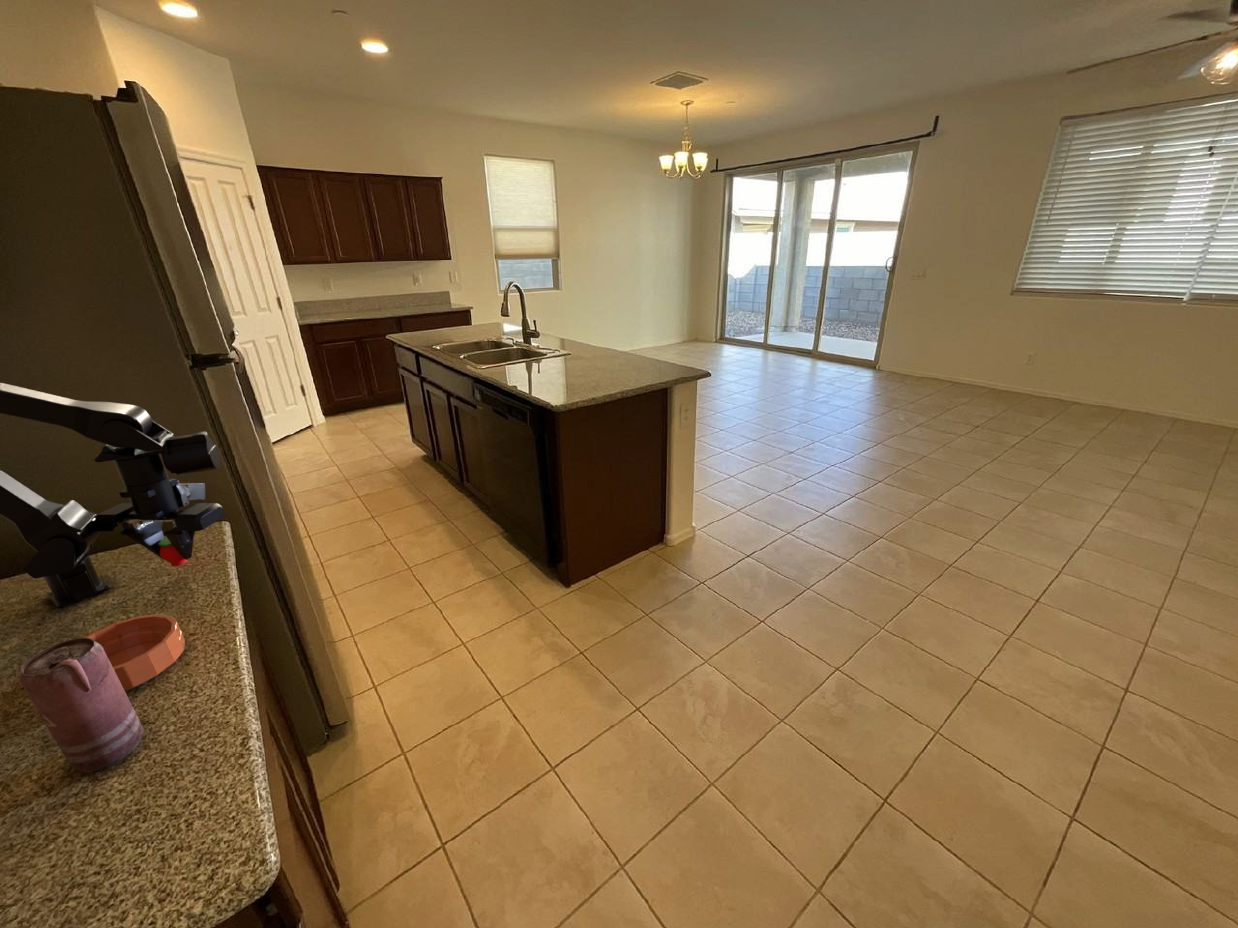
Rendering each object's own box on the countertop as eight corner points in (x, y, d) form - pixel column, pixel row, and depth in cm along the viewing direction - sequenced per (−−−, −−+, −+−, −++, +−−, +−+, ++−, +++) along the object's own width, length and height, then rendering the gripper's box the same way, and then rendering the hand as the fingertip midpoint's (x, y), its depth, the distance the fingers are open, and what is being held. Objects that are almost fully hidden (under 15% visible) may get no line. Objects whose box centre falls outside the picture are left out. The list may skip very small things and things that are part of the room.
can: (103, 779, 55) (46, 681, 49) (58, 769, 56) (-2, 672, 51) (160, 732, 60) (115, 638, 55) (118, 723, 61) (70, 631, 56)
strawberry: (161, 565, 91) (151, 542, 89) (187, 555, 94) (179, 532, 93) (170, 571, 89) (160, 548, 87) (197, 560, 92) (188, 538, 91)
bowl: (55, 678, 68) (41, 654, 67) (166, 626, 78) (156, 604, 76) (85, 717, 62) (70, 691, 61) (201, 656, 72) (191, 632, 70)
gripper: (234, 462, 93) (258, 536, 99) (136, 462, 93) (166, 535, 99) (184, 487, 82) (214, 568, 88) (74, 487, 83) (111, 567, 89)
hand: (177, 558), depth 91 cm, fingers closed on strawberry, 4 cm apart
